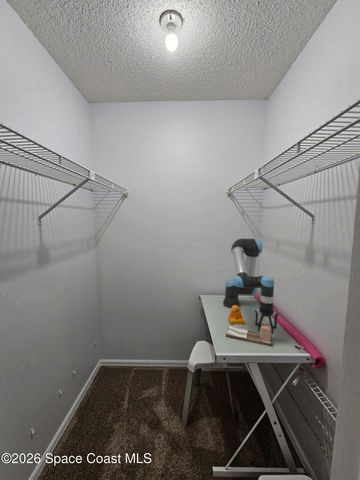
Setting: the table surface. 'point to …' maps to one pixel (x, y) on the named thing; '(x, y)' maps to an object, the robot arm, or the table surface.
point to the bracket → (235, 316)
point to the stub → (265, 331)
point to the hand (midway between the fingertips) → (265, 337)
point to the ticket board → (246, 336)
